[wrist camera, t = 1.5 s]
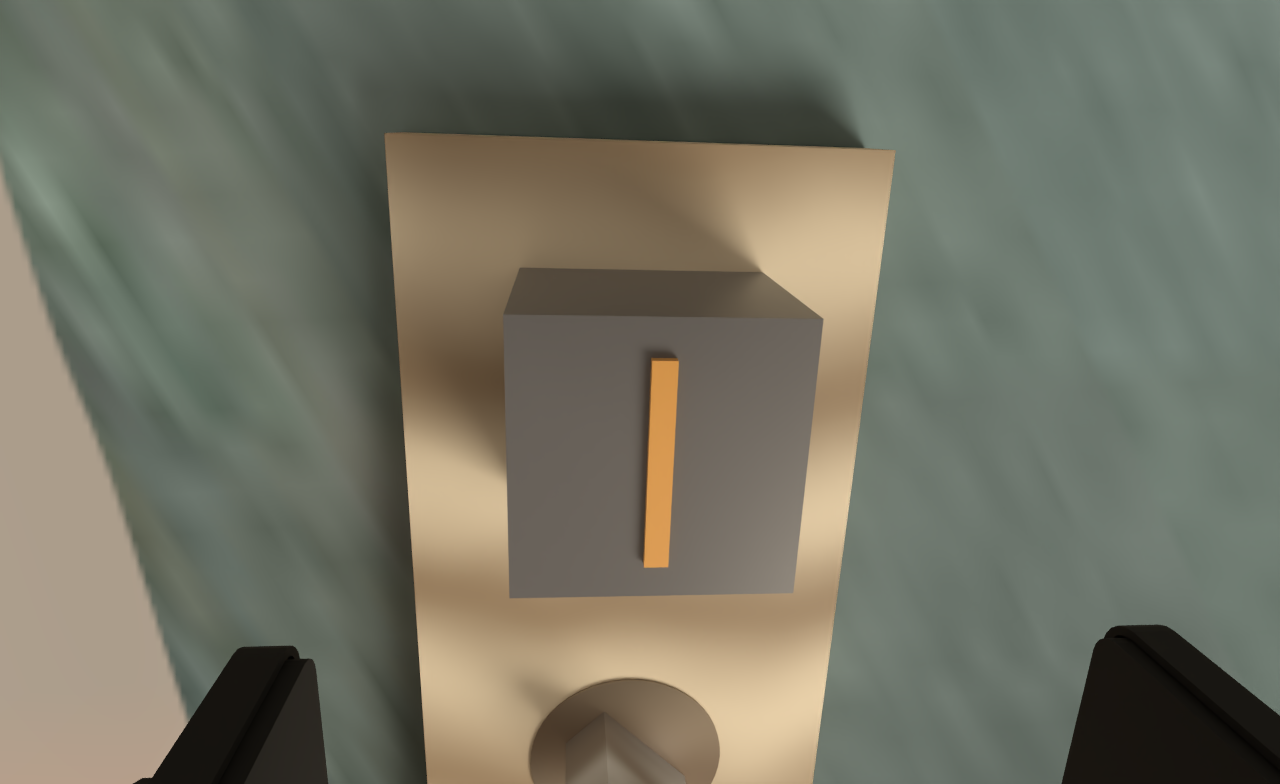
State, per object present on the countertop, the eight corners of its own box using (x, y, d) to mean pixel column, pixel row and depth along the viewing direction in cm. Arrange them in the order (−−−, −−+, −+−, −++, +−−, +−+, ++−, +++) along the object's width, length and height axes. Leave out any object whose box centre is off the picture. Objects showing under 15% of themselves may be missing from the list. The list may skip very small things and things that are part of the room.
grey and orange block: (519, 267, 19) (501, 317, 14) (762, 272, 20) (826, 321, 15) (523, 491, 21) (508, 604, 16) (744, 490, 22) (796, 598, 17)
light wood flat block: (402, 132, 20) (341, 134, 15) (865, 148, 21) (964, 155, 16) (445, 858, 27) (416, 1029, 22) (783, 841, 28) (830, 1001, 23)
